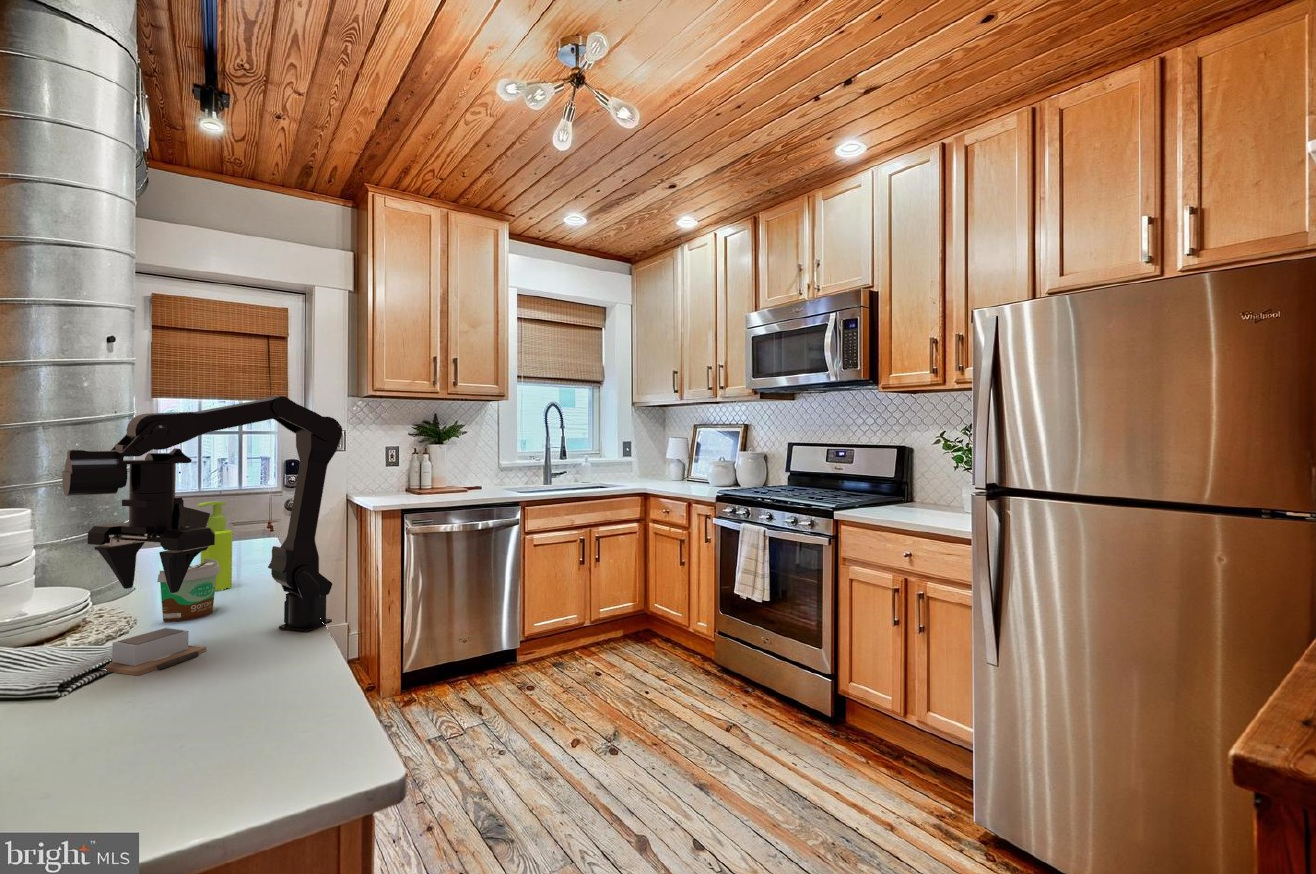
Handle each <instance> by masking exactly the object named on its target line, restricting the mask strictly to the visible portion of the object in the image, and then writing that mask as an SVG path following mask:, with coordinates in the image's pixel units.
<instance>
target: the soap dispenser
mask: <svg viewBox="0 0 1316 874" xmlns="http://www.w3.org/2000/svg"><path fill="white" fill-rule="evenodd" d="M223 505H227V502H226V501H205V502H201V503H197V504H196V505H195V506H196V507H198V508H203V507H207V506H208V507H209V506H212V514H210V517H209V520H208V523H207V528H211V529H212V530H213V531H214V532H215V545H211V546H208V549H207V550H205V551H201V552H200V564H202V563H203V562H204V559H214V560H217V562H218V564H219V566H220V570H221V572H220V573H218V574H217V576H216V585H215V592H217V591H216V590H222V589H226V588H230V587H231V588H232V581H233V579H232V578H233V577H232V576H233V575H232V574H233V573H232V571H233V530H231V529H227V517H226V515H224V514H222V511H223V509H222V508H223ZM231 588H230V589H231ZM222 591H223V590H222Z"/></svg>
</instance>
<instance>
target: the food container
mask: <svg viewBox="0 0 1316 874" xmlns="http://www.w3.org/2000/svg"><path fill="white" fill-rule="evenodd" d="M220 572H221V570H220V566H219V564H218V562H217V560H214V559H204V562H203V563H202V564H201V563H199V564H196V565H190V566H189V568H188V571H187V573H186V575H185V578H184V580H183V582H182V585H181V587H180V589H179V591H178V592H176V593H170V590H169V588H168V585H167V581H166V577H165V573H164V570H159V574H158V576H157V583H160V596H161V598H160V599H161V610H162V622H163V623H175V622H176V623H178V622H186V621H193V620H196V619H200V618H201V619H202V618H204V617H208V616H209V615H211V614H212V613H213V611H214V604H215V603H214V602H215V592H216V591H215V585H216V576H217V574H218V573H220Z"/></svg>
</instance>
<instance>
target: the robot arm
mask: <svg viewBox="0 0 1316 874" xmlns="http://www.w3.org/2000/svg"><path fill="white" fill-rule="evenodd" d="M269 420H274V421H276V422H277V423H278V424H279V425H281V426H283V427H284V428H285V429H287V430H288V431H289V432H291V433H293V434H295V448H296V452H297V456H298V459H299V460H298V461H299V465H298V470H297V471H298V472H297V477H296V478H297V479H296V483H295V490H294V494H293V500H292V501H293V502H292V504H291V505H292V507H291V512H290V517H289V522H288V523H289V524H288V528H287V529H288V530H287V535H286V538H285V540H283V542H282V544H281V546H276V545H274V546H272V548H271V559H270V560H271V561H270V563H269V564H268V566H267V568H268V569H270V570H271V571H270V572H271V577H272V578H273V580H274V581H275V583H278V584H280V585H281V589H283V592H286V593H285V600H284V603H283V604H284V605H283V606H284V607H283V610H284V611H283V615H284V616H283V622H284V623H283V624H280V625H279V626H278V629H279V630H286V631H296V632H310V631H313V630H316V629H318V628H320V627H323V626H325V625H328V624H330V623H333V619H332V618H327V596H328V595H329V594H330V592H331V590H332V587H333V582H331V581H330V580H329V579H328V578H327V577H325V576H324V575H323V574H321V573H320V555H319V551H318V547H317V544H316V535H317V528H318V522H319V518H320V517H319V516H320V512H321V505H322V500H323V493H324V488H325V480H326V476H327V469H328V465H329V463H330V462H331V460H332V459H333V457H334V456H335V454H336V453H337V451H338V448H339V446H340V442H341V439H342V437H343V427H342V425H341V424H340V422H338V420H337V419H335V418H334V417H331V416H322V415H321V414H319V413H317V412H316V411H313V410H311V409H309V408H307V407H305V406H302V405H300V404H298V403H297V402H294V401H293V400H291V398H289V397H287V396H284V395H274V396H268V397H266V398H262V399H257V400H251V401H246V402H242V403H235V404H230V405H223V406H219V407H215V408H214V407H213V408H209V409H202V410H197V411H187V412H185V411H182V412H180V411H179V412H153V413H152V412H151V413H150V412H149V413H142V414H138V415H135V417H132V419H131V420H130V421H129V423H128V424H127V428H126V433H125V435H124V436H123V437H122V438H121V439H120V440H119V441H118V442H117V443H116V444H114V446H113V447H112V448H111V449H110V450H84V449H68V450H67V451H66V460H65V464H64V470H63V471H62V476H61V477H62V479H61V480H62V481H61V483H62V490H63V494H64V495H65V497H75V496H76V497H77V496H97V495H98V496H99V495H116V494H117V493H118V492H119V491H118V490H119V489H123V488H124V487H125V488H126V486H127V484H128V483H127V482H128V481H129V485H128V486H129V489H128V490H129V491H128V492H129V493H128V494H129V496H128V498H125V499H121V507H128V522H114V523H107V524H106V523H105V524H99V525H94V526H92V528H91V529H90V530H88V532H87V545H93V546H94V545H95V546H94V547H93V549H94V550H95V551H97V552H98V553H99V554H100V555H101V556H102V559H104V560H105V562H106V564H107V565H108V566H109V568H110V569H111V571H112V572H113V573H114V575H115V576H116V578H117V580H118V581H119V583H120V585H121V586H122V588H123V589H124V590H125V589H126V590H127V589H132V588H133V585H134V581H135V576H136V574H135V573H136V563H137V555H138V554H137V553H138V552H140V550H141V548H142V547H143V546H144V544H145V543H146V542H147V543H160V546H161V547H162V549H163V551H159V552H158V554H159V557H160V558H159V559H160V562H161V564H162V568H163V571H164V573H165V577H166V581H167V585H168V588H169V590H170V593H176V592H178V591H179V589H180V587H181V585H182V582H183V580H184V578H185V575H186V573H187V571H188V568H189V566H191V565H192V562H193V560H194V559H195V558H196V557H197V556H198V555H199V554H201V551H205V550H207V549H208V546H211V545H215V532H214V531H213V530H212V529H211V528H208V520H209V517H210V516H211V513H210V512H207V511H203V510H199V509H195V508H192V507H191V508H190V507H186V506H184V503H185V501H184V499H183V497H179V496H176V481H177V479H176V478H177V477H176V476H177V475H176V473H177V472H176V471H177V470H176V468H177V467H176V466H177V464H190V463H192V461H193V460H192V458H190V457H189V456H187V455H186V454H185V453H183V451H182V449H180V448H175V446H177V445H181V444H183V443H186V442H187V441H191V440H193V439H195V438H198V437H199V436H201V435H205V434H207V433H211V432H216V431H221V430H225V429H232V428H235V427H239V426H245V425H249V424H254V423H260V422H263V421H269ZM173 447H174V448H173ZM169 448H172V450H171V451H169V452H152V453H151V452H150V451H152V450H155V451H157V450H158V451H159V450H166V449H169ZM145 454H146V455H145ZM143 455H145V457H144V459H124V458H125V457H127V458H128V457H130V458H131V457H132V458H133V457H142V456H143ZM128 465H129V480H128ZM320 618H321V619H320ZM322 622H323V623H324V624H325V625H324V624H323V623H322Z"/></svg>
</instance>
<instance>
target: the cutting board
mask: <svg viewBox="0 0 1316 874" xmlns="http://www.w3.org/2000/svg"><path fill="white" fill-rule="evenodd" d="M204 652H207V647H205V646H198V645H189V644H188V649H187V650H184V651H181V652H178V653H175V654H171V655H168V656H165V657H162V658H159V659H156V660H153V661H150V662H146V663H143V664H140V665H137V666H131V665H126V664H121V663H115V662H113V663H111V664H109V665H106V666H105V667H104V668H105V669H106V670H107V671H108V673H116V674H124V675H129V676H131V675H132V676H141V675H143V674H146V673H149V672H152V671H155V670H158V671H161V670H164V669H166V668H168V667H172V666H174V665H177V664H179V663H180V664H181V663H183V662H185V661H188V660H191V659H193V658H196V657H198V656H199V655H200V654H201V653H204ZM107 671H106V672H107Z"/></svg>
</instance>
